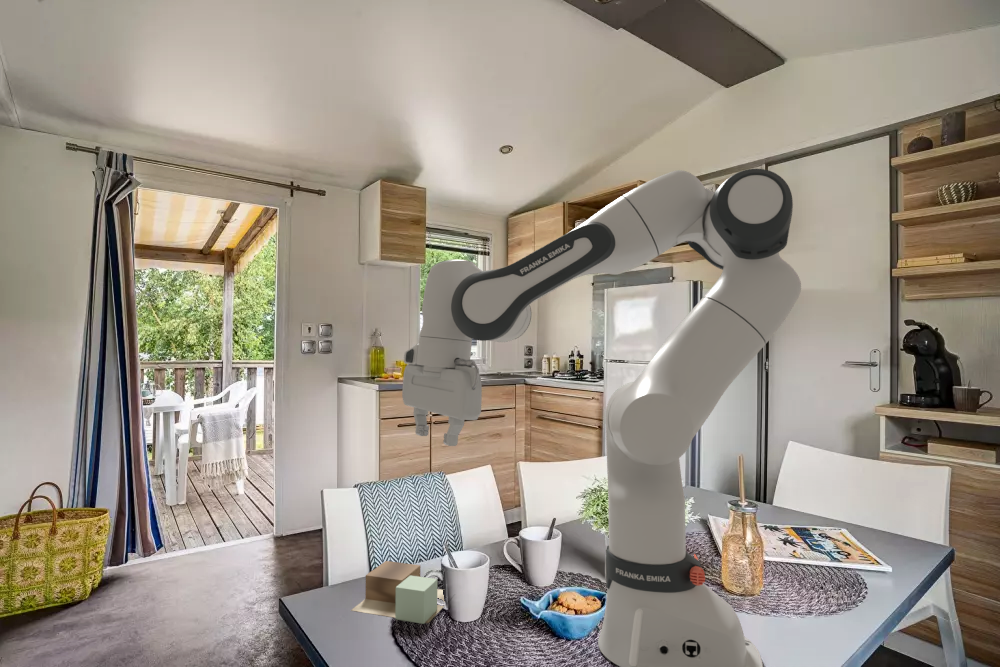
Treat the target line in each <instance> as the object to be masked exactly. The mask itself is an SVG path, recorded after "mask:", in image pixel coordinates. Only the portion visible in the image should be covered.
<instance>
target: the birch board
mask: <svg viewBox="0 0 1000 667" xmlns="http://www.w3.org/2000/svg"><path fill="white" fill-rule="evenodd" d="M443 590H444V589H440V588H437V598H439V599H442V600H443V601H444V595H443ZM444 602H445V601H444ZM444 607H445V606H440V605H437V611H436V612H435V613H434V614H433V615H432V616H431V617H430V618H429V619H428V620H427V621H426V622H425V623H424V624H429V623H430V622H431V621H432V620H433V619H434V618H435V617H436V616H437V614H439V613H440V612H441V610H442V609H444ZM350 612H358V613H364V614H368V615H377V616H381V617H386V618H387V617H388V618H392V619H393V618H394V619H395V612H396V603H389V602H383V601H376V600H370V599H365V598H364V599H363V600H362V601H361V602H359V603H358V604H356V605H355V606H354V607H353V608H352V609H350Z"/></svg>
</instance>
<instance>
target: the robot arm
mask: <svg viewBox="0 0 1000 667" xmlns="http://www.w3.org/2000/svg"><path fill="white" fill-rule="evenodd" d="M793 202H794V201H793V195H792V190H791V189H790V186H789V185H788V183H787V182H786V181H785V180H784V178H783V177H782V176H780V175H779V174H777V173H776V172H773V171H771V170H768V169H764V168H749V169H744V170H741V171H739V172H736V173H734V174H732V175H730V176H729V177H728V178H727V179H726V180H724V181H723V182H722V183H721V184H720V185H719V186H718V188H717V189H716V190H715V191H711V190H710V189H708V188H706V187H705V185H704V184H703V183H702V181H701V180H700V179H699V178H698V177H697V176H696V175H695V174H692V173H691V172H690V171H686V170H680V169H679V170H672V171H670V172H667V173H664V174H662V175H659V176H657V177H655V178H653V179H651V180H648V181H646V182H644V183H642V184H641V185H638V186H636V187H635V188H633V189H631V190H630V191H628V192H626V193H625V194H622V195H621V196H620V197H618V198H617V199H615V200H613V201H612V202H610V203H609V204H607V205H605V207H602V208H601V209H600V210H598V211H597V212H596V213H594V214H593V215H592V216H590V217H589V218H588V219H586V220H585V221H584V222H582V223H580V224H579V225H578V226H576V227H575V228H573V229H572V230H570V231H569V232H567V233H565V234H563V235H561V236H560V237H557V238H556V239H554V240H552V241H550V242H549V243H547V244H545V245H543V246H541V247H540V248H538V249H537V250H534V251H533V252H531V253H529V254H527V255H525V256H524V257H522V258H520V259H519V260H517V261H515V262H514V263H513V262H512V263H511V264H510V265H507V266H504V267H499V268H496V269H489V270H482V269H480V268H479V267H478V266H477V265H476V264H475V263H474V262H473V261H470V260H466V259H448V260H443V261H440V262H438V263H436V264H434V265H433V266H432V267H431V268H430V270H429V273H428V275H427V277H426V282H425V286H424V293H423V299H422V307H421V314H422V326H421V330H420V332H419V335H418V343H416V344H414V345H413V347H411V348H408V349H407V350H406V351H404V355H403V362H404V364H405V365H406V364H407V365H406V366H405V368H404V370H403V377H402V378H403V381H402V390H401V391H402V394H401V395H402V402H403V404H404V405H405V406H408V407H411V408H413V417H414V423H415V430H414V431H415V435H416V436H420V437H427V436H429V432H430V431H429V430H430V426H429V425H428V420H427V415H429V412H431V413H434V414H438V415H442V416H445V417H448V422H447V423H448V424H449V426H448V430H447V433H445V432H444V433H443V442H442V443H443V444H444V445H446V446H448V447H456V446H457V445H458V442H459V435H460V433H461V431H462V430H463V428H464V425H465V421H475V420H476V421H477V420H478V418H480V415H481V414H482V403H483V402H482V397H483V395H482V394H483V392H482V391H483V390H482V385H483V384H482V377H481V375H480V369H479V367H478V365H477V364H476V361H475V360H473V359H471V355H472V345H473V344H472V342H473V340H475V341H483V342H486V341H490V342H494V343H495V342H497V343H507V342H512V341H514V340H516V339H518V338H520V337H521V336H523V335H524V334H525V333H526V331H527V330H528V328H529V326H530V323H531V322H532V321H531V319H532V308H531V305H532V303H534V302H536V301H538V300H539V299H541V298H544V297H545V296H547V295H548V294H550V293H551V292H554V291H556V290H557V289H560V287H562V286H564V285H566V284H568V283H569V282H571V281H573V280H575V279H577V278H579V277H584V276H587V275H592V274H605V275H607V274H608V275H616V276H617V275H621V274H623V273H626V272H629V271H631V270H634V269H636V268H639V267H641V266H643V265H645V264H647V263H648V262H650V261H652V260H653V259H656V258H658V257H659V256H660V255H662V254H663V253H665V252H667V251H668V250H670V249H672V248H673V247H675V246H677V245H679V244H681V243H684V242H687V244H688V245H689V247H690V248H691V249H693V251H695V252H696V253H697V254H699V255H700V256H702V257H703V258H704V259H705V260H706V261H707V262H708V263H709V264H711V265H712V266H714V267H715V268H718V269H720V270H722V271H721V275H720V276H719V277H718V278H717V280H716V282H715V283H714V284H713V286H712V287H711V288H710V289H709V290H708V291H707V292H706V293H705V295H704V296H703V297H702V298H701V299H700V300H699V301H698V302H697V303H696V305H695V306H694V307H693V308H692V309H691V310H690V311H689V313H688V314H687V315H686V316H685V317H684V318H683V320H681V321H680V323H679V324H678V325H677V326H676V327H675V329H674V330H672V332H671V333H670V334H669V335H668V336H667V338H665V341H664V342H663V344H662V345H661V347H659V349H658V351H657V352H656V353H655V355H654V356H652V358H651V360H650V361H649V362H648V364H647V365H646V366H645V367H644V369H643V370H642V371H641V372H640V374H639V375H638V376H637V378H635V380H634V381H631V382H628V383H625V384H623V385H621V386H619V388H617V389H616V390H615V391H614V392H613V393H612V395H611V396H610V398H609V399H608V402H607V403H606V404H607V405H606V409H605V439H606V440H605V442H606V443H605V444H606V445H605V446H606V470H607V471H606V472H607V492H608V494H607V496H608V545H607V546H606V550H605V555H604V577H605V578H604V580H605V586H606V588H607V590H606V600H605V601H606V602H605V610H604V616H603V622H602V627H601V630H600V632H599V633H600V634H599V637H598V640H597V645H598V648H599V650H600V652H601V653H602V654H603V656H604V657H605V658H606V659H607V660H609V661H610V662H612V663H613V664H615V665H616V666H618V667H764V666H763V665H764V664H763V661H762V660H763V659H762V657H761V654H760V651H759V650H758V649H757V646H756V645H755V644H754V643H753V642H752V641H751V640H750V639H749V638H748V637H746V636H745V634H744V630H743V626H742V624H741V621H740V619H739V617H738V615H737V613H736V611H735V609H734V607H732V606H731V604H729V603H728V602H727V601H726V600H725V599H723V598H722V597H720V596H719V595H718V594H717V593H716V592H714V591H713V589H711V588H710V587H708V586H707V585H706V584H705V582H706V574H705V571H704V569H703V568H702V567H701V561H700V560H699V558H698V556H697V555H696V554H695V553H694V554H693V555H692V554H690V553H689V552H687V551H686V550H687V548H686V546H687V545H686V544H687V543H686V537H687V536H686V498H685V493H684V488H683V480H682V472H681V471H682V470H681V463H680V458H682V456H683V455H684V454H686V452H687V451H688V449H689V448H690V445H691V443H692V441H693V439H694V438H695V436H696V435H697V434H698V432H699V430H701V428H702V427H703V425H704V424H705V422H707V419H709V417H710V415H711V414H712V412H713V410H714V409H715V407H716V406H717V404H718V403H719V401H720V399H721V398H722V396H723V395H724V394H725V392H726V391H727V390H728V388H729V386H731V384H732V383H733V382H734V381H735V380H736V379H737V377H738V376H739V375H740V374H741V372H742V371H743V370H744V369H745V368H746V367H747V366H748V365H749V364H750V363H751V361H752V360H753V359H754V358H755V357H756V356H757V354H758V353H760V351H761V350H762V349H763V348H764V347H765V346H766V344H767V343H768V342H769V341H770V340H771V339H772V338H773V336H774V335H775V333H776V332H777V331H778V330H779V329H780V327H781V326H782V324H783V323H784V321H786V319H787V318H788V316H789V314H790V313H791V311H792V309H793V308H794V306H795V304H796V303H797V301H798V299H799V298H800V295H801V291H802V282H801V279H800V276H799V275H798V273H797V272H796V270H795V269H794V268H793V267H792V266H791V265H790V264H789V263H788V262H787V261H785V260H784V259H782V257H781V256H780V252H781V251H782V250H784V249H785V248H786V247H787V244H788V240H789V233H790V227H791V222H792V217H793V210H794V209H793V207H794V206H793V205H794V203H793Z"/></svg>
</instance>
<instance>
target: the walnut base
mask: <svg viewBox="0 0 1000 667" xmlns="http://www.w3.org/2000/svg"><path fill="white" fill-rule="evenodd" d="M410 575H411V576H418V577H421V565H420V564H413V563H405V562H397V561H388V560H385V561H384V562H381V564H380V565H378V566H376V567H374V569H372V570H371V571H370V572H368V573H367V574H365V593H364V594H365V597H364V600H365V599H370V600H376V601H383V602H389V603H396V587H397V586H398V585H399V584H400V583H401V582H403V581H404V580H405V579H406V578H408V577H409V576H410Z"/></svg>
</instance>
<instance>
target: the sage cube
mask: <svg viewBox="0 0 1000 667" xmlns="http://www.w3.org/2000/svg"><path fill="white" fill-rule="evenodd" d="M437 589H438V579H437V578H432V577H425V576H424V577H423V576H420V577H418V576H411V575H410V576H409V577H408V578H406V579H405V580H404V581H403V582H401V583H400V584H399V585H398V586H397V587H396V612H395V618H394V619H395V620H398V621H404V622H410V623H416V624H421V625H424V624H426V623H425V622H426V621H427V620H428V619H429V618H430V617H431V616H432V615H433V614H434V613H435V612H436V611H437Z"/></svg>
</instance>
